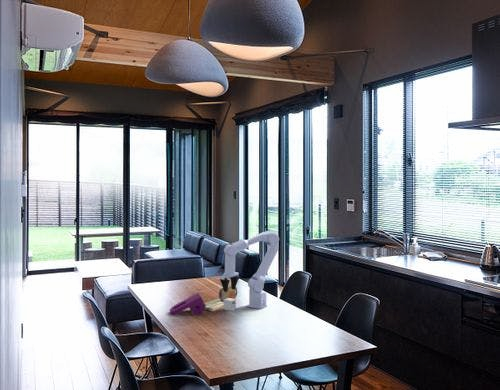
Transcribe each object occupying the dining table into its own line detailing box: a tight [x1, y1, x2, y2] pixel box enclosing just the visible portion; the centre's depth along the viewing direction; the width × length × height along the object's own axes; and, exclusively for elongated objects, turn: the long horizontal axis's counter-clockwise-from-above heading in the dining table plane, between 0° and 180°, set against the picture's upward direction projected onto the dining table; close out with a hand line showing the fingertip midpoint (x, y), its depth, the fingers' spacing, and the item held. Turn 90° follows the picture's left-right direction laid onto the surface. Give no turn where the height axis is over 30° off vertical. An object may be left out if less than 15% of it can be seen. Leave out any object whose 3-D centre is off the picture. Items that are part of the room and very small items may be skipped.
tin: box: [218, 285, 238, 302], centre depth 279 cm, size 15×3×8 cm, turn 143°
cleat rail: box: [204, 298, 224, 312], centre depth 262 cm, size 6×14×3 cm, turn 147°
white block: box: [223, 298, 237, 312], centre depth 259 cm, size 6×4×6 cm
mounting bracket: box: [169, 292, 206, 316], centre depth 252 cm, size 9×8×18 cm
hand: (229, 290), depth 260 cm, fingers open, 7 cm apart
